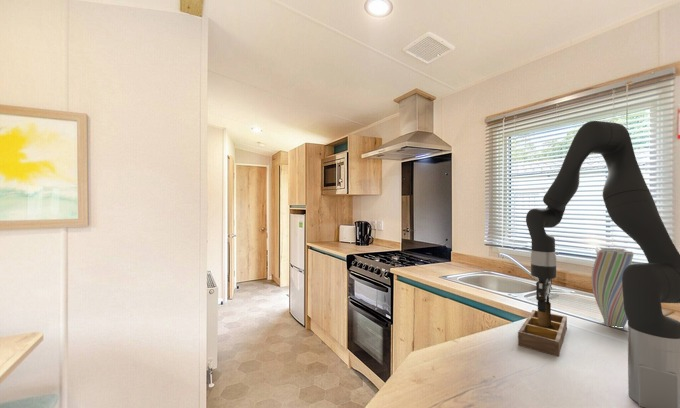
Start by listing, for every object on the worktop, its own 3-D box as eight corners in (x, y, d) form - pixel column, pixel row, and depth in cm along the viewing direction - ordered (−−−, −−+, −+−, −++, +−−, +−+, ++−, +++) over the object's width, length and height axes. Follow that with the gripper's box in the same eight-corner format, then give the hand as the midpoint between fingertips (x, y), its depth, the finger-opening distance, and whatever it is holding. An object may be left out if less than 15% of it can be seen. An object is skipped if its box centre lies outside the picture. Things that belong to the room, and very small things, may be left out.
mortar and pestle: (534, 334, 103) (534, 284, 103) (532, 327, 109) (531, 280, 109) (557, 338, 100) (557, 286, 100) (553, 331, 106) (553, 282, 106)
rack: (558, 356, 91) (558, 342, 91) (518, 345, 98) (518, 331, 98) (566, 328, 111) (566, 316, 111) (532, 320, 119) (532, 309, 119)
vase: (632, 323, 116) (632, 248, 116) (643, 336, 105) (643, 253, 105) (588, 316, 124) (588, 245, 124) (594, 327, 112) (593, 249, 112)
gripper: (553, 267, 97) (554, 316, 97) (558, 262, 108) (558, 306, 107) (527, 265, 102) (527, 311, 102) (534, 259, 113) (534, 301, 112)
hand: (543, 308), depth 105 cm, fingers open, 8 cm apart
